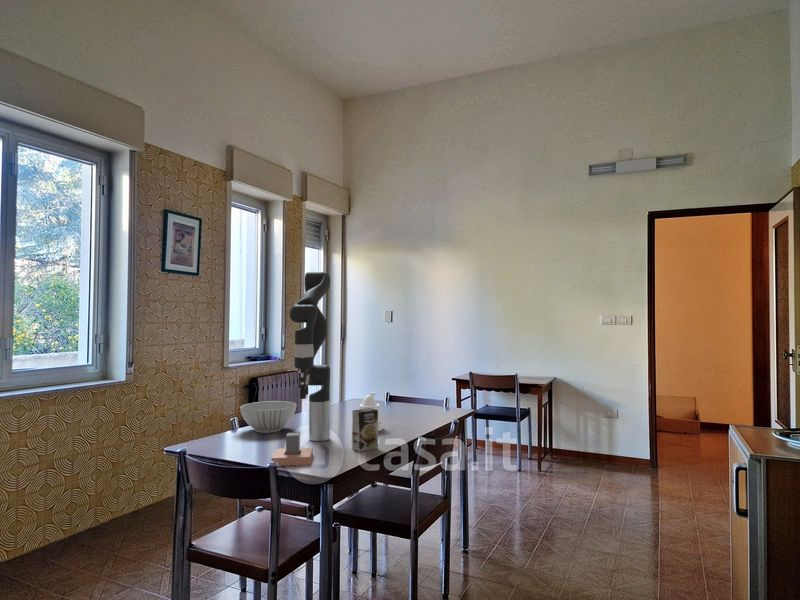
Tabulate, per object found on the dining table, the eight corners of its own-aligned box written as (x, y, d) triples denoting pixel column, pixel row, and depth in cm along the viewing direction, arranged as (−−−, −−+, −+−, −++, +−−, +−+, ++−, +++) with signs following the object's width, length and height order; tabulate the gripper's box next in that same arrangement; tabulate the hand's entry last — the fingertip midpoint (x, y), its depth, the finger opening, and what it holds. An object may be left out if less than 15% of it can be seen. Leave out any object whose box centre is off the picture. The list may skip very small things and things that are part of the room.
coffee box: (359, 452, 208) (359, 412, 208) (351, 449, 213) (351, 409, 214) (378, 448, 213) (378, 409, 214) (370, 445, 218) (370, 407, 219)
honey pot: (384, 426, 257) (383, 390, 258) (380, 432, 244) (380, 394, 245) (358, 426, 258) (358, 390, 259) (354, 431, 245) (353, 394, 246)
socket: (276, 456, 203) (276, 448, 203) (312, 455, 204) (312, 447, 204) (271, 466, 189) (271, 458, 189) (309, 465, 190) (309, 456, 190)
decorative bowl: (269, 439, 232) (269, 412, 233) (227, 433, 245) (227, 407, 246) (307, 427, 256) (307, 403, 256) (267, 422, 269) (267, 399, 269)
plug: (287, 459, 199) (287, 433, 199) (299, 458, 199) (299, 432, 200) (286, 462, 194) (286, 435, 195) (298, 462, 195) (298, 435, 195)
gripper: (296, 353, 209) (296, 393, 209) (291, 357, 195) (292, 400, 195) (315, 353, 210) (315, 393, 210) (311, 357, 196) (312, 399, 195)
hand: (304, 396), depth 202 cm, fingers open, 8 cm apart
